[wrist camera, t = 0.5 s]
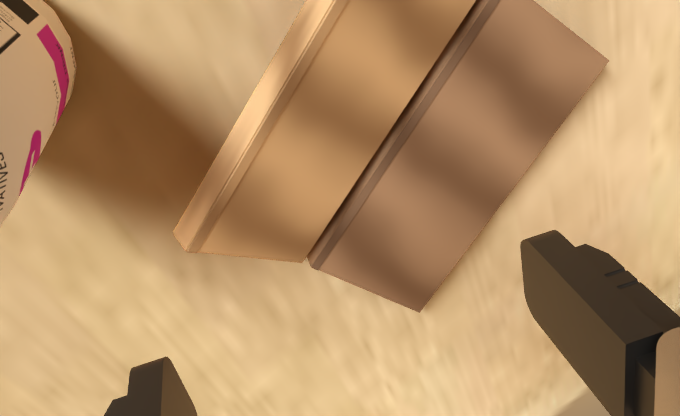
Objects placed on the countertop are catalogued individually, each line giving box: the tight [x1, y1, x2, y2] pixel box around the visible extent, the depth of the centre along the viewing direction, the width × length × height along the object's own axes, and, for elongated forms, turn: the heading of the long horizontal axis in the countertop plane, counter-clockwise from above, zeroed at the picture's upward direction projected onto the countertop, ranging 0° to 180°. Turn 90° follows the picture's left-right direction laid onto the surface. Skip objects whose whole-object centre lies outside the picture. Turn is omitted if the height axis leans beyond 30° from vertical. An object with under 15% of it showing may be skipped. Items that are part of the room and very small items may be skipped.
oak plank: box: [173, 0, 476, 263], centre depth 32 cm, size 20×9×2 cm, turn 147°
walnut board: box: [307, 0, 609, 313], centre depth 38 cm, size 20×9×2 cm, turn 147°
